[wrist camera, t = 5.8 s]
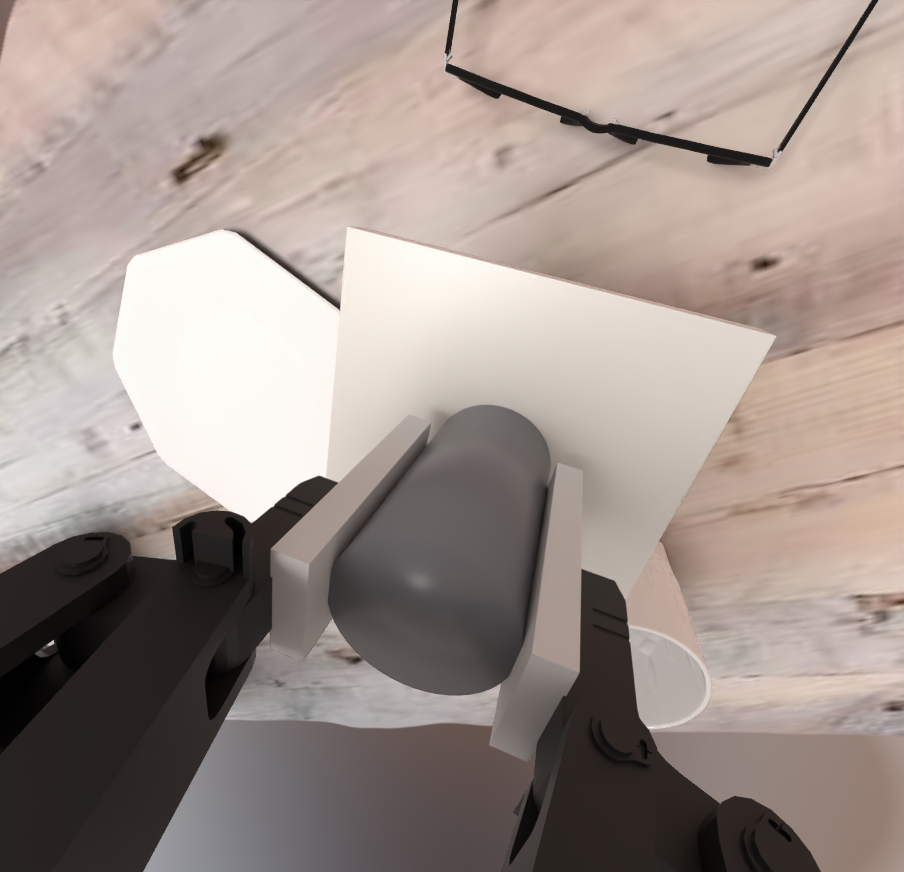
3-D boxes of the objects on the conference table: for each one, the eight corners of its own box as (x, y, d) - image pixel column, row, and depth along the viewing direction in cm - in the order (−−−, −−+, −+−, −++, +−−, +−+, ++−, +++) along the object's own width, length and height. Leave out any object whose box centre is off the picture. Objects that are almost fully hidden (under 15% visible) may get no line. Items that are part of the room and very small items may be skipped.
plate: (326, 202, 27) (312, 200, 26) (409, 512, 36) (402, 522, 35) (87, 273, 35) (68, 275, 34) (202, 513, 44) (190, 522, 42)
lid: (333, 520, 19) (185, 683, 12) (362, 227, 13) (119, 211, 6) (600, 621, 17) (610, 885, 10) (762, 329, 12) (1034, 462, 5)
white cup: (676, 513, 29) (714, 632, 20) (676, 602, 32) (709, 740, 23) (557, 513, 31) (545, 618, 23) (567, 596, 34) (560, 717, 26)
